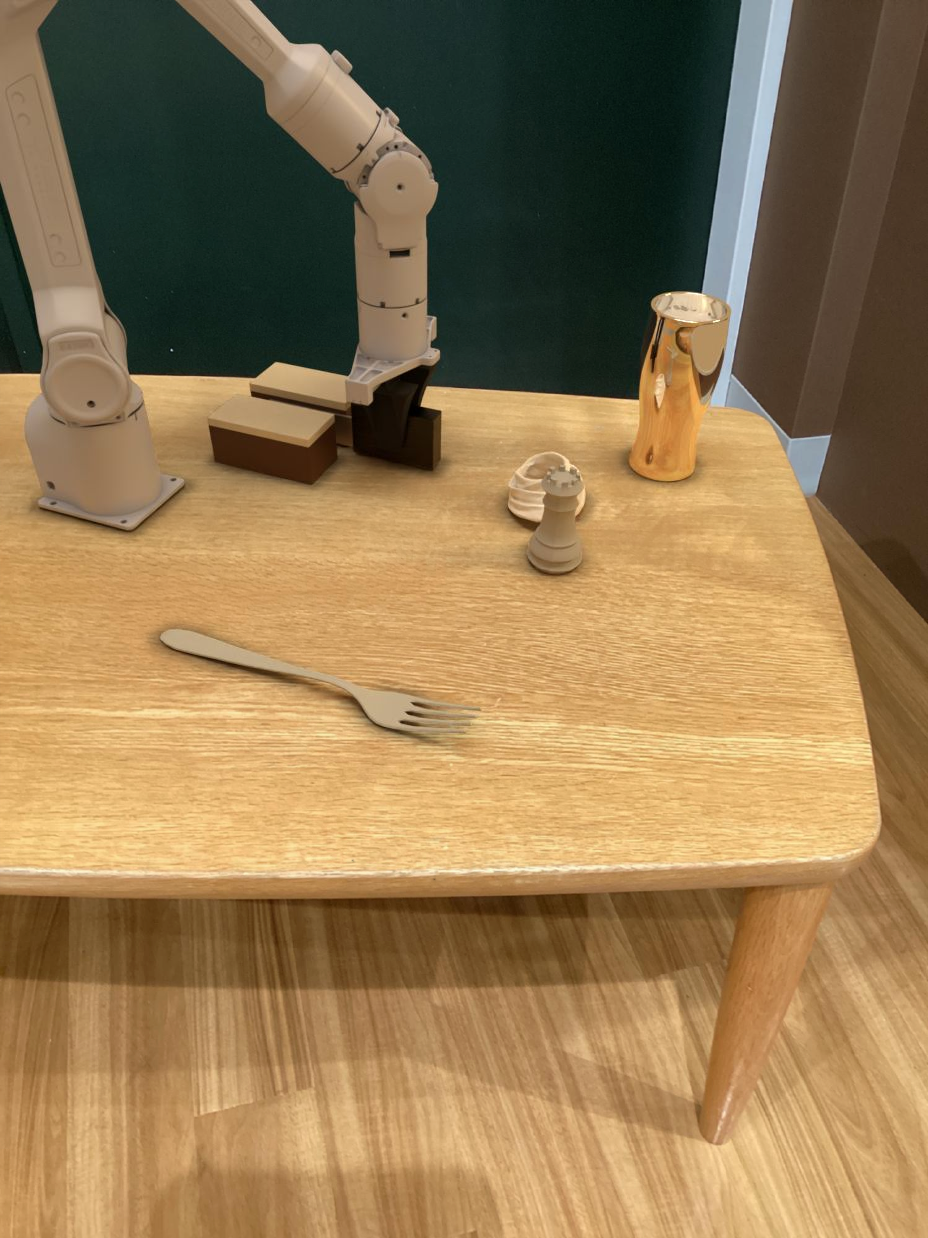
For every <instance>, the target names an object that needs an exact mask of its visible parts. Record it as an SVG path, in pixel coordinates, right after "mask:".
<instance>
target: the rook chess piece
mask: <svg viewBox="0 0 928 1238" xmlns="http://www.w3.org/2000/svg"><path fill="white" fill-rule="evenodd" d="M565 467H566V465H559V470H556V468H555V467H554V466H552V467H550V468H549V472H548V471H547V475H546V476H545V477H544V478H543V479H542V481H541V487H542V488H543V489H544V491H545V492H546V495H545V496H544V497H543V499H542V501H543V504H544V512H543V516H542V519H541V522H539V523H540V524H539V525H538V526H537V527H536V529H535V531H534V532H533V533H532V535H531V537H530V539H529V541H528V549H527V550H526V554H527V558H528V560H529V562H531V564H532V565H533V566H534V567H535V568H536V569H538V570H539V571H541V572H544V573H546V574H552V575H555V574H556V575H561V574H566V573H569V572H571V571H573V570H574V569H576V568H577V567H578V566H579V565H580V564H581V562H582V561H583V551H584V547H583V542H582V538H581V537H580V536H579V532H578V530H577V528H576V517H575V511H576V508H577V507H578V505H579V500H578V499H577V495H578V494H580V493H581V492H582V490H583V489H584V485H585V482H584V483H583V482H582V480H581V479H580V476H582V475H580V474H581V472H580V471H579V472H577V469H578V468H577V467H576V468H577V469H576V468H574V467H571V468H570V471H566V470H565ZM555 470H556V471H555Z"/></svg>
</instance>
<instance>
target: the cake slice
mask: <svg viewBox="0 0 928 1238" xmlns="http://www.w3.org/2000/svg"><path fill="white" fill-rule="evenodd" d="M348 376H349V375H348ZM348 376H347V375H343V374H337V373H333V372H328V371H322V370H318V369H313V368H308V367H303V366H298V365H293V364H288V363H283V362H279V361H275V362H274V363H273V364H272V365H270V366H268V368H266V369H265V370H264V371H263V372H261V373H260V374H259V375H258V376H257V377H255V378H254V379H252V380H251V381H250V382H249V391H250V396H251V397H255V398H260V399H265V400H269V399H274V400H278V401H283V402H288V403H292V404H297V405H302V406H306V407H311V408H315V409H320V410H325V411H329V412H334V413H339V414H343V415H348V416H351V402H348V401H346V388H345V379H346V378H347V377H348ZM337 445H340V446H343V447H344V446H345V447H349V446H348V445H343V444H339V443H337Z"/></svg>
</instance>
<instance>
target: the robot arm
mask: <svg viewBox="0 0 928 1238" xmlns="http://www.w3.org/2000/svg"><path fill="white" fill-rule="evenodd" d="M58 2H59V0H0V185H1V189H2V193H3V196H4V200H5V203H6V206H7V210H8V213H9V216H10V217H9V218H10V220H11V224H12V227H13V230H14V234H15V237H16V241H17V244H18V247H19V251H20V254H21V258H22V262H23V265H24V268H25V272H26V275H27V278H28V282H29V285H30V288H31V292H32V297H33V303H34V309H35V316H36V323H37V329H38V334H39V338H40V341H41V345H42V364H41V365H42V366H41V369H40V374H39V387H40V391H41V393H40V394H38V395H37V396H36V397H35V398H34V399H33V400H32V401H31V403H30V405H29V406H28V408H27V411H26V414H25V418H24V425H23V426H24V427H23V428H24V437H25V442H26V444H27V448H28V451H29V454H30V457H31V460H32V464H33V467H34V470H35V473H36V476H37V478H38V482H39V485H40V488H41V492H42V494H43V496H42V497H40V498H39V499H38V500H37V505H38V507H39V508H42V509H46V510H50V511H54V512H57V513H61V514H64V515H68V516H72V517H75V518H80V519H83V520H87V521H91V522H96V523H99V524H101V525H102V524H103V525H106V526H110V527H114V528H117V529H121V530H125V531H132V530H134V529H136V528H137V527H138V526H139V525H140V524H141V523H143V521H145V520H146V519H147V518H149V516H150V515H152V514H153V513H154V512H155V511H156V510H158V508H160V507H161V506H162V505H163V504H164V503H166V502H167V501H168V500H169V499H170V498H171V497H172V496H173V495H175V494H176V493H177V492H178V491H179V490H181V488H183V487H184V486H185V480H184V478H181V477H177V476H175V475H169V474H165V473H161V471H160V467H159V462H158V458H157V452H156V449H155V444H154V440H153V434H152V430H151V426H150V421H149V416H148V412H147V408H146V403H145V398H144V393H143V390H142V388H141V387H140V386H139V385H138V384H137V383H136V382H135V381H134V380H133V379H132V378H131V374H130V373H129V369H128V368H129V367H128V359H127V346H128V339H127V334H126V330H125V328H124V325H123V324H122V323H121V321H120V319H119V317H117V315H116V314H114V312H113V311H112V309H111V308H110V307H109V305H108V303H107V301H106V297H105V295H104V291H103V287H102V284H101V281H100V278H99V276H98V273H97V269H96V266H95V262H94V257H93V254H92V249H91V244H90V241H89V237H88V233H87V228H86V224H85V221H84V216H83V213H82V212H83V211H82V209H81V204H80V200H79V196H78V191H77V187H76V184H75V180H74V175H73V171H72V167H71V163H70V162H71V161H70V159H69V154H68V150H67V145H66V142H65V138H64V134H63V130H62V125H61V121H60V118H59V113H58V109H57V105H56V101H55V96H54V91H53V89H52V88H53V87H52V84H51V81H50V77H49V72H48V68H47V64H46V60H45V55H44V50H43V47H42V43H41V39H40V35H39V30H38V29H39V28H40V27H41V26H42V24H43V22H44V21H45V19H46V18H47V17H48V15H49V14H50V13H51V11H52V10H53V9H54V7H55V6H56V4H58ZM175 2H176V3H178V5H180V7H182V8H183V9H184V10H185V11H186V12H187V13H188V14H189V15H190V16H192V17H193V19H194V20H196V21H197V22H198V23H199V24H200V25H201V26H202V27H204V28H205V30H206V31H208V33H210V34H211V35H212V36H213V37H214V38H215V39H216V40H217V41H219V42H220V43H221V44H222V45H223V46H224V47H225V48H226V49H227V51H229V52H230V53H232V55H234V56H235V57H236V58H237V59H238V60H239V61H240V62H241V63H242V64H244V65H245V67H247V69H249V70H250V71H251V72H252V73H253V74H254V75H255V76H256V77H257V78H258V79H260V80H261V81H262V83H263V88H264V96H265V97H264V98H265V99H264V100H265V108H266V111H267V112H266V113H267V115H268V116H269V117H270V118H271V119H272V120H273V121H274V122H275V123H276V124H278V125H279V126H280V127H281V129H283V130H284V131H285V132H286V133H287V134H289V135H290V137H292V138H293V139H294V140H295V141H296V142H297V144H299V145H300V146H301V147H302V148H303V149H304V150H305V151H306V152H307V153H308V154H309V155H311V156H312V157H313V159H315V160H316V161H317V162H318V163H319V164H320V165H321V166H322V167H323V168H324V169H325V170H326V171H327V172H328V173H329V174H330V175H331V176H332V177H334V178H335V179H339V180H342V181H343V182H344V185H345V186H346V189H347V190H348V191H349V192H350V193H351V194H352V193H353V194H354V196H356V197H357V199H358V200H356V201H354V202H353V205H354V207H353V208H354V223H355V224H354V226H355V227H354V228H355V234H354V239H353V240H354V243H353V244H354V255H355V257H354V259H355V276H356V277H355V279H356V300H357V301H356V303H357V314H358V315H357V318H358V334H359V335H358V336H359V337H358V339H359V341H358V344H357V347H356V351H355V355H354V359H353V363H352V368H351V371H350V373H349V375H348V377H347V378H346V379H345V388H346V401H348V402H353V403H357V404H362V405H363V406H364V408H365V410H366V412H367V414H368V417H369V419H370V422H371V425H372V428H373V431H374V434H375V437H376V440H377V443H378V446H379V448H380V449H385V450H389V451H394V452H400V451H401V450H402V447H403V444H404V439H405V433H406V422H407V415H408V410H409V407H410V404H412V405H417V406H422V402H423V399H424V395H425V392H426V390H427V387H428V385H429V382H430V381H431V378H432V377H433V375H434V372H435V371H436V370H437V367H438V365H437V364H438V363H437V362H438V361H440V359H441V351H440V349H439V348H435V347H434V348H433V347H431V343H432V342H433V341H434V340H435V339H436V338H437V317H436V316H432V315H428V237H427V215H428V214H429V213H430V211H431V210H432V209H433V207H434V205H435V202H436V200H437V196H438V192H439V183H438V182H437V181H435V175H434V173H433V171H432V169H433V166H432V163H431V162H430V160H429V159H428V157H427V156H426V154H425V153H424V152H423V151H422V150H421V149H420V148H419V147H418V146H417V145H416V144H415V143H414V142H412V141H411V140H410V139H409V138H408V137H407V136H406V135H405V134H404V133H403V130H402V128H401V127H399V126H398V124H399V123H400V119H399V117H398V116H397V115H396V114H395V112H393V111H392V110H391V108H389V107H385V108H384V109H382V108H380V106H378V104H377V103H376V102H375V101H374V100H373V99H372V98H371V97H370V96H369V95H368V94H367V93H366V91H364V90H363V88H362V87H361V86H360V85H359V84H358V83H357V82H356V81H355V80H354V79H353V78H352V77H351V76H350V75H349V73H351V71H352V70H353V65H352V64H351V63H350V62H349V60H348V59H347V58H345V56H344V55H343V54H342V53H341V52H340V51H338V50H337V49H335V50H333V52H332V53H331V54H330V53H329V52H328V51H327V50H326V49H325V48H324V47H323V46H322V45H321V44H319V43H300V44H298V43H292V42H290V41H289V40H288V39H287V38H286V37H285V36H284V35H283V34H282V32H280V31H279V30H278V28H277V27H276V26H275V25H274V24H273V23H272V22H271V21H270V20H269V19H268V18H267V17H266V15H264V13H263V12H262V11H261V10H260V9H259V8H258V6H256V4H254V2H253V1H252V0H175Z"/></svg>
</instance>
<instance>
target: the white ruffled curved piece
mask: <svg viewBox="0 0 928 1238" xmlns="http://www.w3.org/2000/svg"><path fill="white" fill-rule="evenodd" d="M559 465H566V467H565V470H566V471H570V468H571V467H574V468H576V469H577V472H580V471H579V469H578V468H577V466H576V465H574V464H573V463H571V462H570V461H569V459H568V458H567V457H566V456H564V455H563V454H561V453H559V452H556V451H545V452H541V453H537V454H534V455H532V456H530V457H528V458H527V459H526V461H524V462H523V463H522V465H520V466H519V467H518V468H517V469H516V470H515V471H514V472H513V473H514V474H513V475H512V477H511V478H510V480H509V481H508V483H507V487H508V488H509V491H508V501H507V507H508V509H509V511H510V512H511V513H512V514H513V515H514V516H516V517H518V518H520V519H524V520H528V521H530V522H533V523H541V519H542V516H543V512H544V504H543V501H542V499H543V497H544V496H545V495H546V492H545V491H544V489H543V488H542V487H541V481H542V479H543V478H544V477H545V476H546V475H547V471H548V472H549V468H550V467H552V466H554V467H555V468H556V470H559ZM556 470H555V471H556ZM580 475H581V473H580ZM580 479H581V480H582V482H583V483H584V489H583V490H582V492H581V493H580V494H578V495H577V499H578V500H579V505H578V507H577V508H576V511H575V518H576V517H577V516H578V515H579V514H580V513H581V512H582V510H583V508H584V506H585V504H586V497H587V496H586V495H587V491H586V486H585V482H584V479H583V477H582V475H581V476H580Z"/></svg>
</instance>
